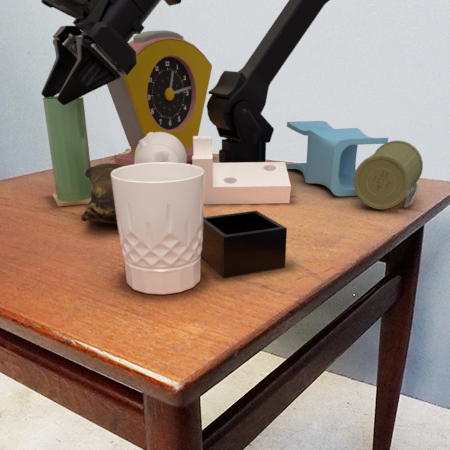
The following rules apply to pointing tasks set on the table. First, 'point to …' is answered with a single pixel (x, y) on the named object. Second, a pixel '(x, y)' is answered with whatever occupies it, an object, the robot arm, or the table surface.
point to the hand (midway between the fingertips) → (51, 99)
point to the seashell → (101, 194)
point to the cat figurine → (160, 149)
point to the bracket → (240, 178)
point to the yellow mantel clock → (161, 91)
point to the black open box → (243, 243)
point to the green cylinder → (68, 148)
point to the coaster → (68, 203)
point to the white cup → (160, 224)
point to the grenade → (389, 175)
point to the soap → (125, 151)
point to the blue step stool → (331, 155)
